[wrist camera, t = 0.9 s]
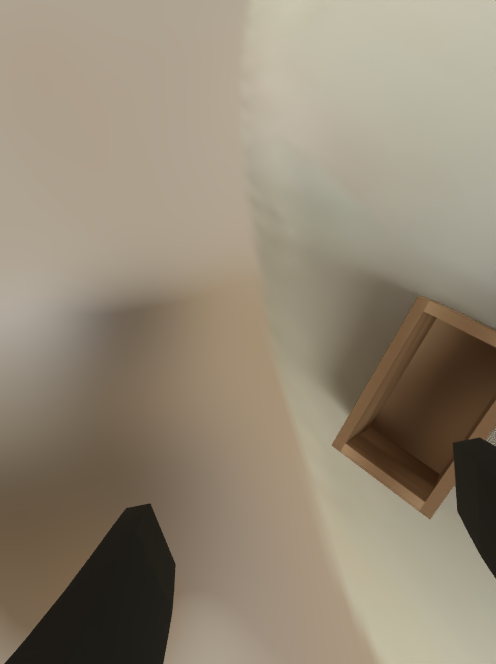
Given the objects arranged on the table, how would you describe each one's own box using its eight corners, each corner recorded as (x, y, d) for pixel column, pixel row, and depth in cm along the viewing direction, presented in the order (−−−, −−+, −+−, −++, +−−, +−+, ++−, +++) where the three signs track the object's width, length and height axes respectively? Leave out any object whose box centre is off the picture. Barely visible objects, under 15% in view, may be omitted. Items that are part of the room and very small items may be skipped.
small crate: (539, 351, 19) (545, 356, 15) (445, 485, 21) (429, 519, 17) (436, 301, 21) (418, 295, 17) (361, 426, 23) (331, 445, 20)
